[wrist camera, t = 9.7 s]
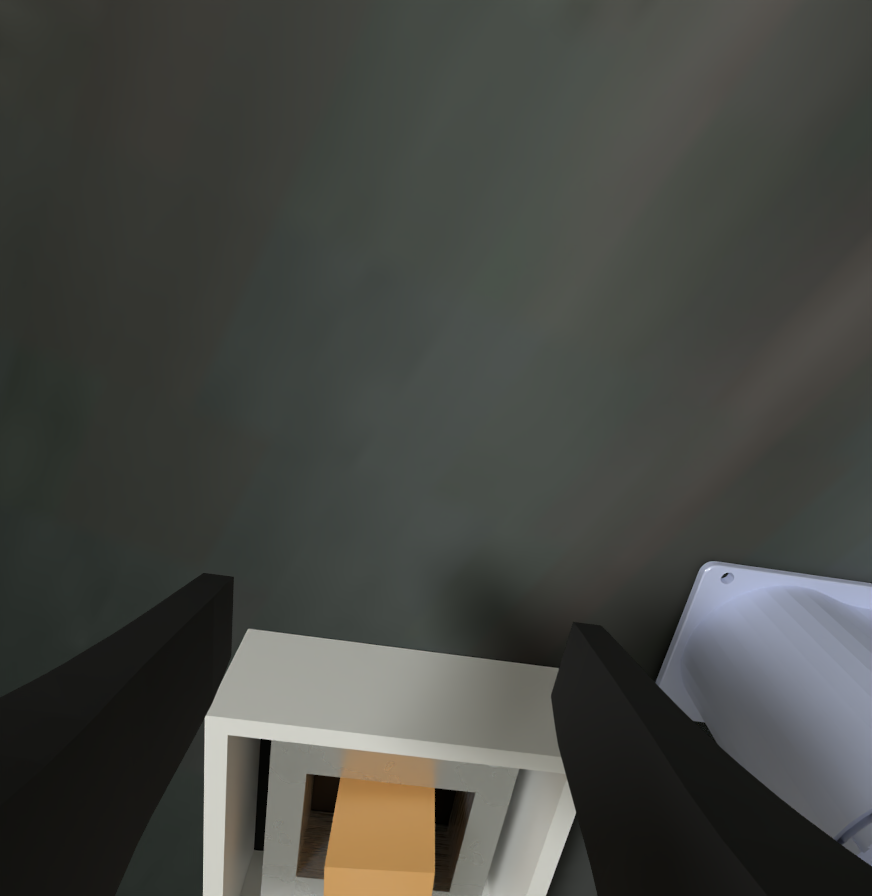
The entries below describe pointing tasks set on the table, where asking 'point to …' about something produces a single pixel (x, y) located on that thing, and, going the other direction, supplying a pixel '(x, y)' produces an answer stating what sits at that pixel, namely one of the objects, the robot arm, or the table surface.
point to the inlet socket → (477, 785)
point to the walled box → (384, 741)
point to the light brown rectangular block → (381, 840)
